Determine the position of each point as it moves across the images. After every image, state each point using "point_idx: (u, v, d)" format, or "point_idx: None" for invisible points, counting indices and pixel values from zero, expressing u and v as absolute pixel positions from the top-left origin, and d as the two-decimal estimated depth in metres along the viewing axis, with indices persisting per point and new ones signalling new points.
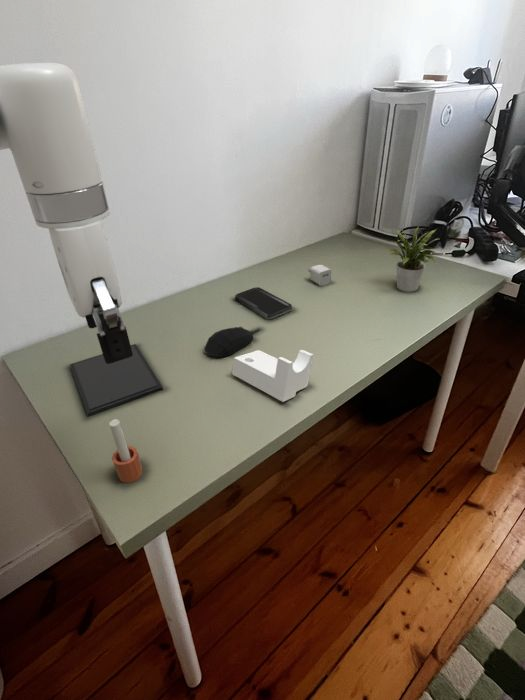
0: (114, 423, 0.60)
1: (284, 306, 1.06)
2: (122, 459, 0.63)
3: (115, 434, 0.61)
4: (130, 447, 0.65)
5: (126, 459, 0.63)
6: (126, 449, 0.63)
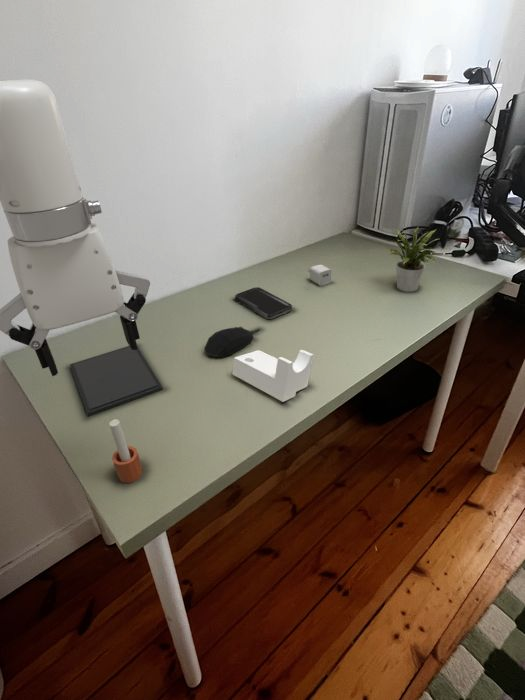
0: (114, 423, 0.60)
1: (284, 306, 1.06)
2: (122, 459, 0.63)
3: (115, 434, 0.61)
4: (130, 447, 0.65)
5: (126, 459, 0.63)
6: (126, 449, 0.63)
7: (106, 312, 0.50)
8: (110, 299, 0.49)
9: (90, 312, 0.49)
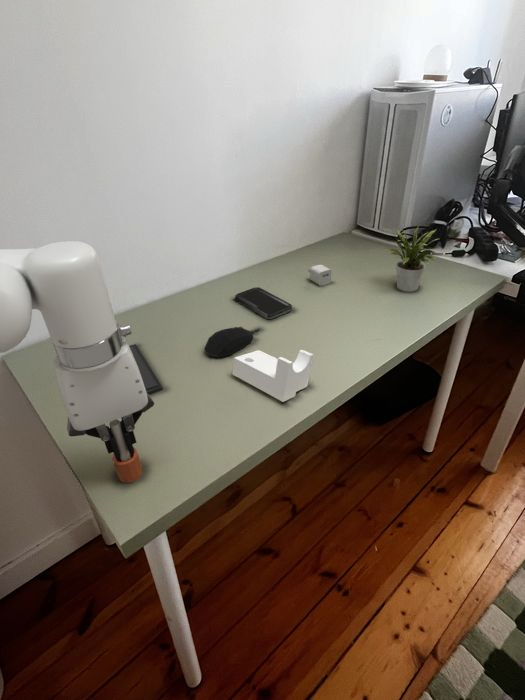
0: (114, 423, 0.60)
1: (284, 306, 1.06)
2: (122, 459, 0.63)
3: (115, 434, 0.61)
4: None
5: (126, 459, 0.63)
6: (126, 449, 0.63)
7: (133, 411, 0.59)
8: (137, 401, 0.58)
9: (120, 413, 0.57)
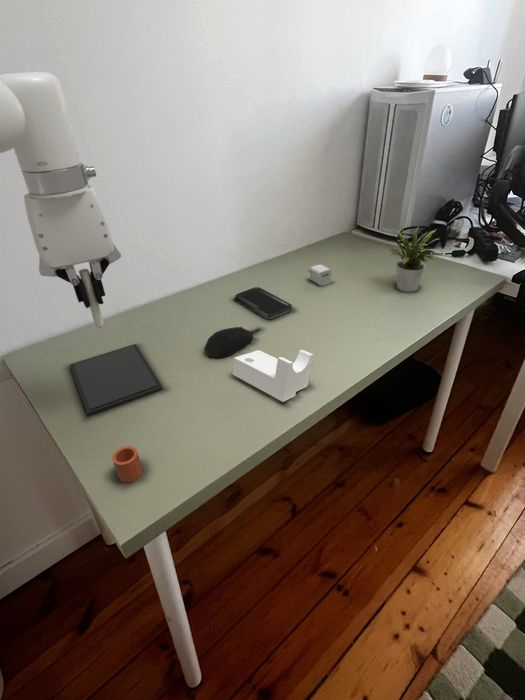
0: (83, 270, 0.65)
1: (284, 306, 1.06)
2: (92, 311, 0.69)
3: (84, 282, 0.66)
4: (130, 447, 0.65)
5: (96, 311, 0.69)
6: (96, 301, 0.68)
7: (100, 256, 0.64)
8: (103, 245, 0.63)
9: (87, 255, 0.63)
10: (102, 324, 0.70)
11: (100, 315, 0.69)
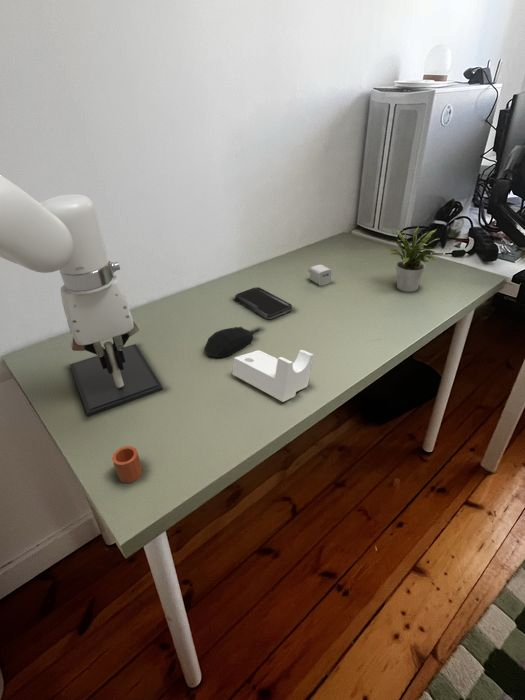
0: (107, 343, 0.77)
1: (284, 306, 1.06)
2: (114, 375, 0.80)
3: (108, 352, 0.77)
4: (130, 447, 0.65)
5: (117, 375, 0.80)
6: (117, 367, 0.80)
7: (122, 333, 0.75)
8: (125, 324, 0.75)
9: (112, 333, 0.74)
10: (122, 385, 0.82)
11: (120, 378, 0.81)
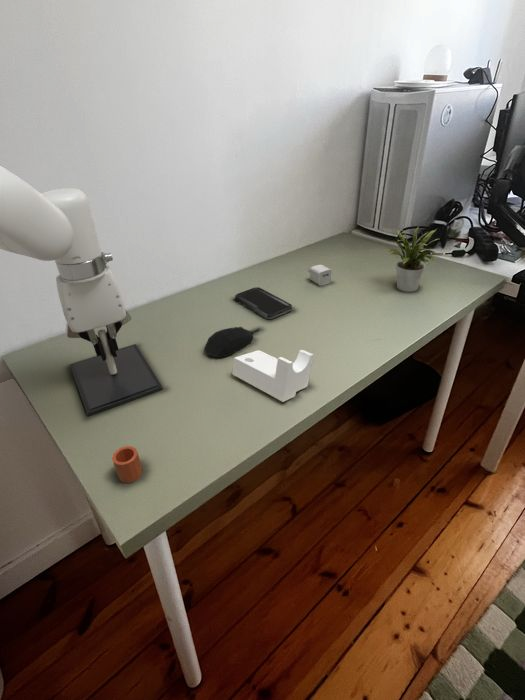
0: (101, 331, 0.81)
1: (284, 306, 1.06)
2: (108, 362, 0.84)
3: (102, 340, 0.81)
4: (130, 447, 0.65)
5: (111, 362, 0.84)
6: (110, 354, 0.83)
7: (115, 321, 0.79)
8: (117, 313, 0.78)
9: (105, 321, 0.78)
10: (115, 372, 0.86)
11: (114, 365, 0.85)
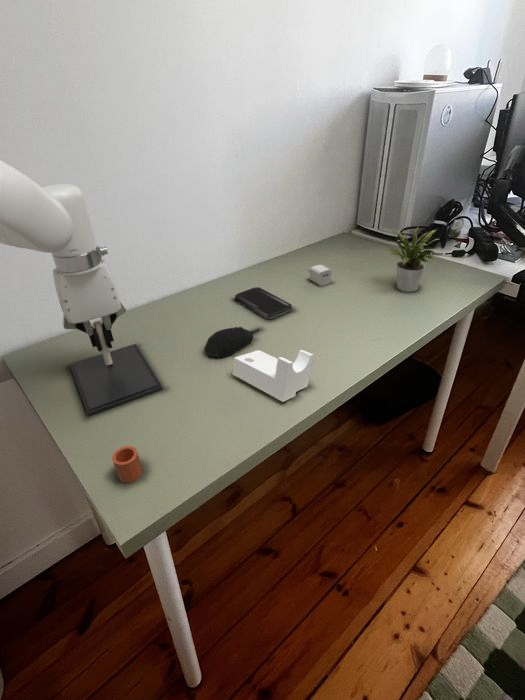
0: (97, 323, 0.83)
1: (284, 306, 1.06)
2: (103, 353, 0.87)
3: (97, 331, 0.84)
4: (130, 447, 0.65)
5: (106, 353, 0.87)
6: (106, 345, 0.86)
7: (110, 313, 0.82)
8: (112, 305, 0.81)
9: (100, 313, 0.81)
10: (111, 363, 0.88)
11: (109, 356, 0.87)
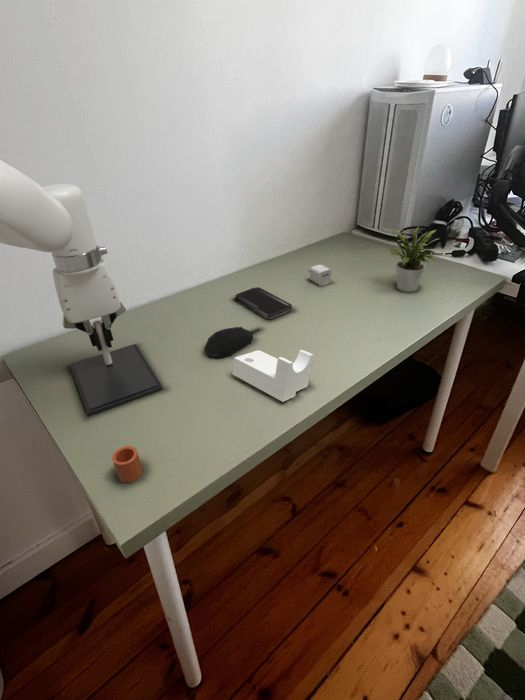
0: (96, 322, 0.83)
1: (284, 306, 1.06)
2: (103, 353, 0.87)
3: (97, 331, 0.84)
4: (130, 447, 0.65)
5: (106, 353, 0.87)
6: (106, 345, 0.86)
7: (110, 312, 0.82)
8: (112, 304, 0.81)
9: (100, 312, 0.81)
10: (111, 362, 0.88)
11: (109, 355, 0.88)
